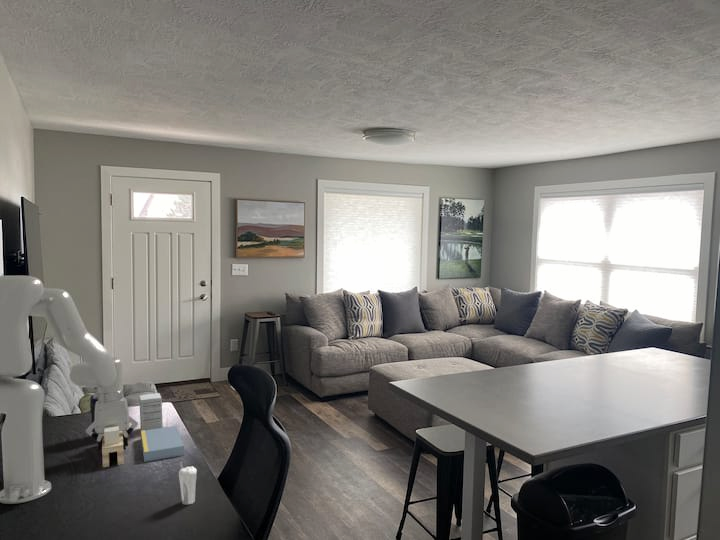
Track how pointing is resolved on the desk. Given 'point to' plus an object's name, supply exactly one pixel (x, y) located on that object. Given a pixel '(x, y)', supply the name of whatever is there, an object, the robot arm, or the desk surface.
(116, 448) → the pallet
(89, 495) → the desk surface
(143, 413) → the supplement box
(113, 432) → the crate cream
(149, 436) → the block
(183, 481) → the milkshake
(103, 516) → the desk surface
